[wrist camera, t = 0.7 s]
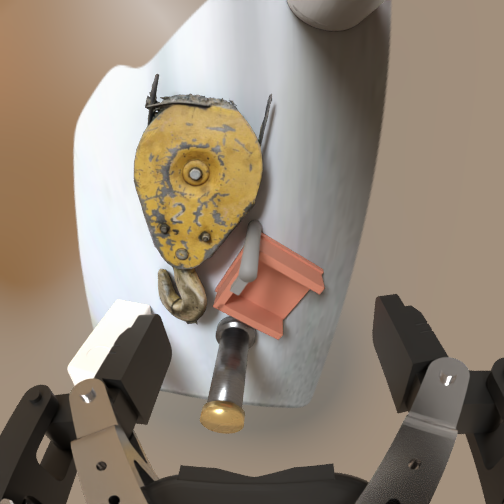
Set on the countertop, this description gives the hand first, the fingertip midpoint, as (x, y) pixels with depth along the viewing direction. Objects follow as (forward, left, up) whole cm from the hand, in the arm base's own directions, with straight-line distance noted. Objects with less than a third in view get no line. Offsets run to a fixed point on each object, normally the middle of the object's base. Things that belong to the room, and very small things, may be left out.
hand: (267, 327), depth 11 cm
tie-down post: (+22, +8, -26) cm, 34 cm away
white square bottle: (+29, -6, -26) cm, 39 cm away
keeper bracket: (+12, +7, -25) cm, 29 cm away
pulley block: (+9, -6, -26) cm, 28 cm away
